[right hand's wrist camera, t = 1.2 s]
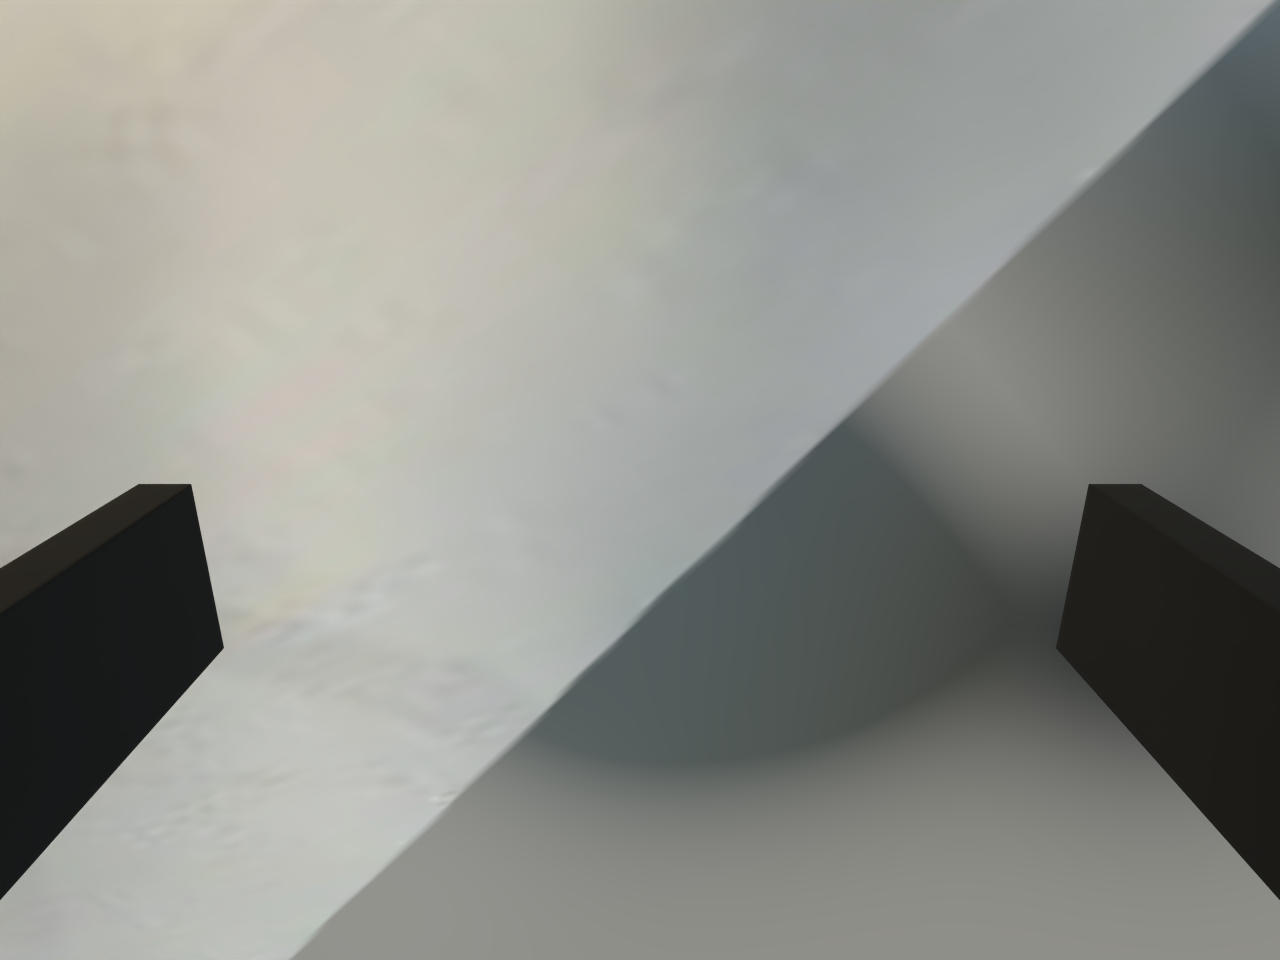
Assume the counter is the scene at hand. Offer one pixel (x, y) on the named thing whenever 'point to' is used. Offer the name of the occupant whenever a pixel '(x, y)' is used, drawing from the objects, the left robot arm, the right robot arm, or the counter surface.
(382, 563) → the counter surface
